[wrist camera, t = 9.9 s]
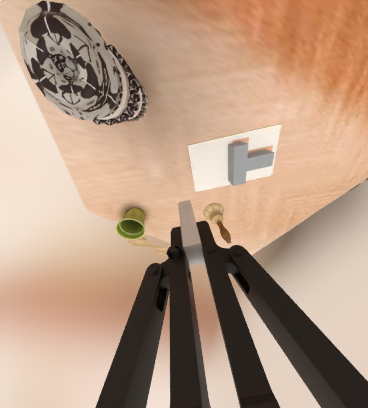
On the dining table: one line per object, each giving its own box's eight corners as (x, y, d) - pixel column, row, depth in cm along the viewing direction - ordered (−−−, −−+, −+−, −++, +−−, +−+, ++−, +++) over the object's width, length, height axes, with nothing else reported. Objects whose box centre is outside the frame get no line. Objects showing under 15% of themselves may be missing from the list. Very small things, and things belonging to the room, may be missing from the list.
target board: (187, 145, 39) (187, 145, 39) (280, 123, 39) (281, 123, 38) (195, 191, 48) (195, 192, 48) (271, 174, 47) (271, 175, 47)
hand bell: (215, 199, 51) (231, 228, 37) (227, 210, 54) (246, 240, 41) (199, 212, 53) (209, 243, 40) (212, 222, 57) (225, 254, 44)
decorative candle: (104, 105, 32) (-12, 79, 11) (120, 63, 29) (-8, -85, 8) (139, 130, 36) (98, 146, 15) (156, 96, 32) (135, 54, 12)
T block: (227, 144, 40) (234, 147, 36) (267, 135, 40) (277, 137, 36) (228, 180, 47) (233, 185, 43) (261, 173, 46) (269, 177, 42)
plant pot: (133, 226, 54) (127, 243, 47) (117, 209, 49) (109, 225, 42) (153, 218, 53) (150, 233, 45) (139, 200, 48) (134, 214, 40)
